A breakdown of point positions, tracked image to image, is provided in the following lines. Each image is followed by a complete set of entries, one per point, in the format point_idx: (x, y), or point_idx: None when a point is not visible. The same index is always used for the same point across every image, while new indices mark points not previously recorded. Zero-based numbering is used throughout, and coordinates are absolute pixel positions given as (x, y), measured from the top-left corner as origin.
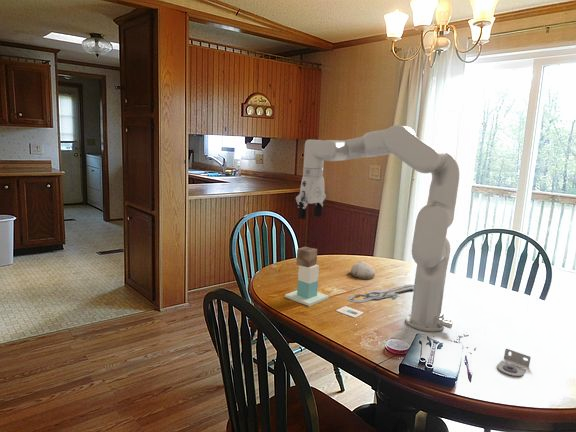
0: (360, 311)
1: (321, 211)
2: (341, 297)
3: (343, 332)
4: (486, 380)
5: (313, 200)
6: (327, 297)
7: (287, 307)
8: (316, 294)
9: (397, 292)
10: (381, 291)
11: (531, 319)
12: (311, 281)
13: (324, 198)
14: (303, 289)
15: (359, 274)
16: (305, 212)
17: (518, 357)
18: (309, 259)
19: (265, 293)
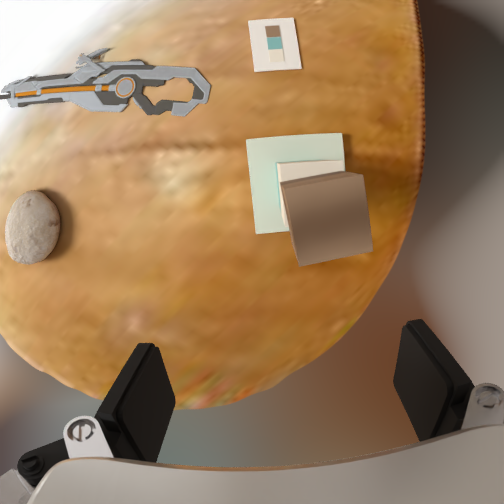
0: (249, 29)
1: (127, 374)
2: (207, 123)
3: (374, 2)
4: None
5: (437, 484)
6: (252, 139)
7: (390, 167)
8: (278, 162)
9: (65, 74)
10: (86, 97)
11: None
12: (317, 160)
13: (13, 481)
14: None
15: (52, 211)
16: (450, 356)
17: None
18: (348, 173)
19: (365, 274)
